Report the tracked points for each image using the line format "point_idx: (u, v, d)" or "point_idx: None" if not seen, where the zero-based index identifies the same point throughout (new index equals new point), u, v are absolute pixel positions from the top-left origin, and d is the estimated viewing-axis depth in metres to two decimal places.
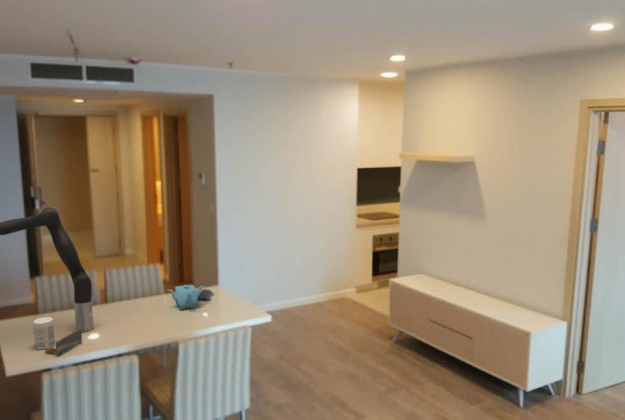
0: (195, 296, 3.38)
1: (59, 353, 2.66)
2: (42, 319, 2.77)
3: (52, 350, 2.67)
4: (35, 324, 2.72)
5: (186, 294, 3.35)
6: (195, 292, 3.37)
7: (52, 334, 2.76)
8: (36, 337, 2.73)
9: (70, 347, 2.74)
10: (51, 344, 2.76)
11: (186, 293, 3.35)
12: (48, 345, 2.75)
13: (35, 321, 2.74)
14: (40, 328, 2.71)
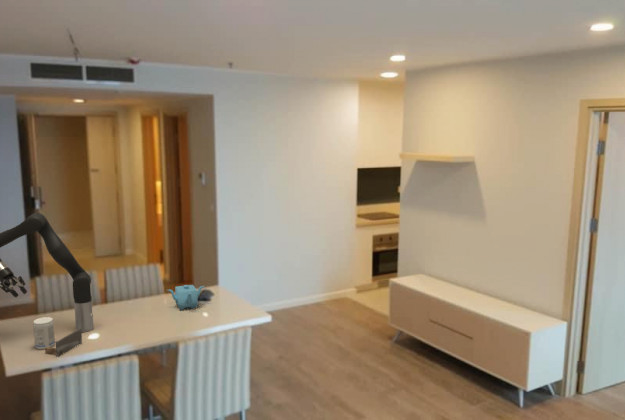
0: (195, 296, 3.38)
1: (59, 353, 2.66)
2: (42, 319, 2.77)
3: (52, 350, 2.67)
4: (35, 324, 2.72)
5: (186, 294, 3.35)
6: (195, 292, 3.37)
7: (52, 334, 2.76)
8: (36, 337, 2.73)
9: (70, 347, 2.74)
10: (51, 344, 2.76)
11: (186, 293, 3.35)
12: (48, 345, 2.75)
13: (35, 321, 2.74)
14: (40, 328, 2.71)
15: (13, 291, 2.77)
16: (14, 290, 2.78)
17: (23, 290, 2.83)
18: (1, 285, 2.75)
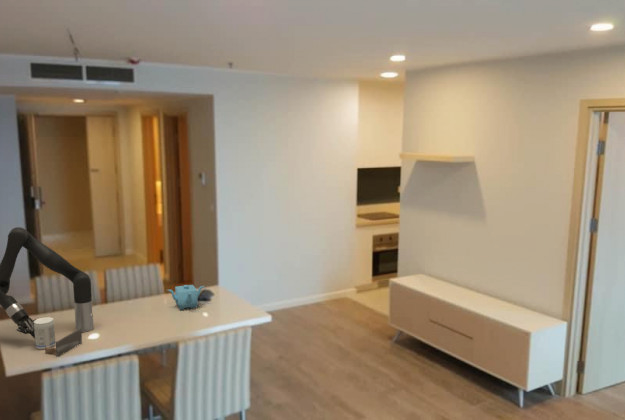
0: (195, 296, 3.38)
1: (59, 353, 2.66)
2: (43, 319, 2.76)
3: (52, 350, 2.67)
4: (36, 324, 2.71)
5: (186, 294, 3.35)
6: (195, 292, 3.37)
7: (53, 334, 2.76)
8: (37, 337, 2.73)
9: (70, 347, 2.74)
10: (52, 344, 2.76)
11: (186, 293, 3.35)
12: (49, 345, 2.75)
13: (36, 321, 2.74)
14: (40, 328, 2.71)
15: (32, 332, 2.78)
16: (33, 331, 2.78)
17: None
18: (19, 329, 2.73)
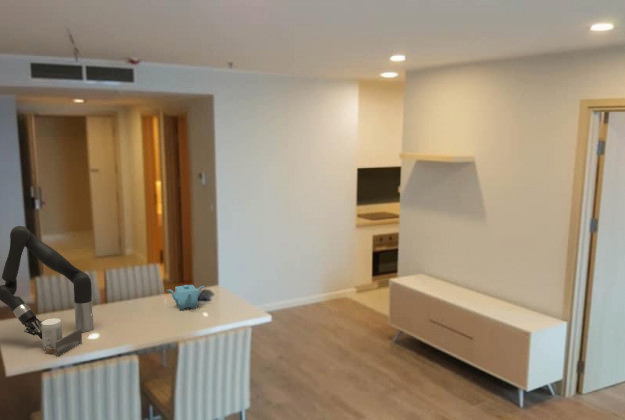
0: (195, 296, 3.38)
1: (59, 353, 2.66)
2: (50, 320, 2.75)
3: (52, 350, 2.67)
4: (43, 325, 2.70)
5: (186, 294, 3.35)
6: (195, 292, 3.37)
7: (60, 335, 2.75)
8: (44, 338, 2.71)
9: (70, 347, 2.74)
10: None
11: (186, 293, 3.35)
12: None
13: (43, 322, 2.72)
14: (48, 329, 2.70)
15: (40, 334, 2.76)
16: (41, 332, 2.77)
17: None
18: (27, 330, 2.72)
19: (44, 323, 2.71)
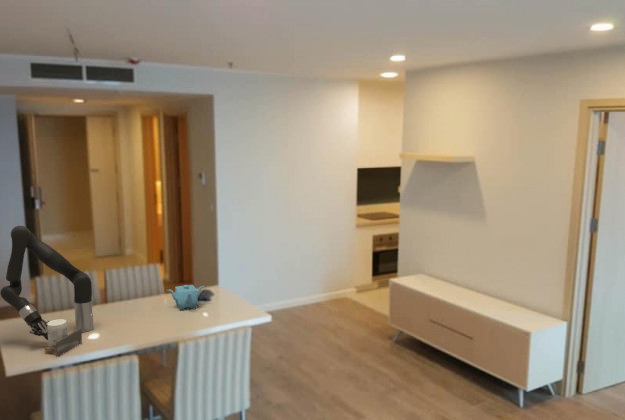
0: (195, 296, 3.38)
1: (59, 353, 2.66)
2: (56, 321, 2.74)
3: (52, 350, 2.67)
4: (49, 326, 2.69)
5: (186, 294, 3.35)
6: (195, 292, 3.37)
7: None
8: (50, 339, 2.70)
9: (70, 347, 2.74)
10: None
11: (186, 293, 3.35)
12: None
13: (49, 323, 2.71)
14: (54, 330, 2.69)
15: (46, 334, 2.75)
16: (47, 333, 2.76)
17: None
18: (33, 331, 2.71)
19: (50, 324, 2.70)
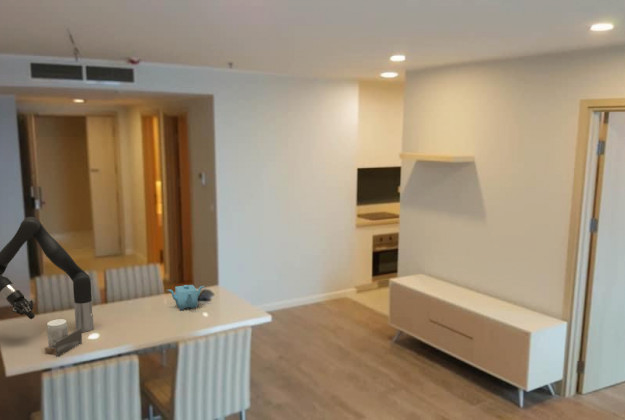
0: (195, 296, 3.38)
1: (59, 353, 2.66)
2: (56, 321, 2.74)
3: (52, 350, 2.67)
4: (49, 326, 2.69)
5: (186, 294, 3.35)
6: (195, 292, 3.37)
7: None
8: (50, 339, 2.70)
9: (70, 347, 2.74)
10: None
11: (186, 293, 3.35)
12: None
13: (49, 323, 2.71)
14: (54, 330, 2.69)
15: (28, 313, 2.77)
16: (29, 312, 2.78)
17: None
18: (15, 310, 2.73)
19: (50, 324, 2.70)
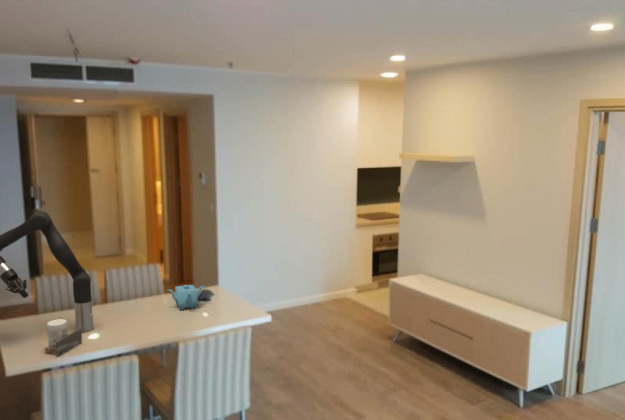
0: (195, 296, 3.38)
1: (59, 353, 2.66)
2: (56, 321, 2.74)
3: (52, 350, 2.67)
4: (49, 326, 2.69)
5: (186, 294, 3.35)
6: (195, 292, 3.37)
7: None
8: (50, 339, 2.70)
9: (70, 347, 2.74)
10: None
11: (186, 293, 3.35)
12: None
13: (49, 323, 2.71)
14: (54, 330, 2.69)
15: (22, 292, 2.78)
16: (23, 291, 2.78)
17: None
18: (9, 288, 2.73)
19: (50, 324, 2.70)
